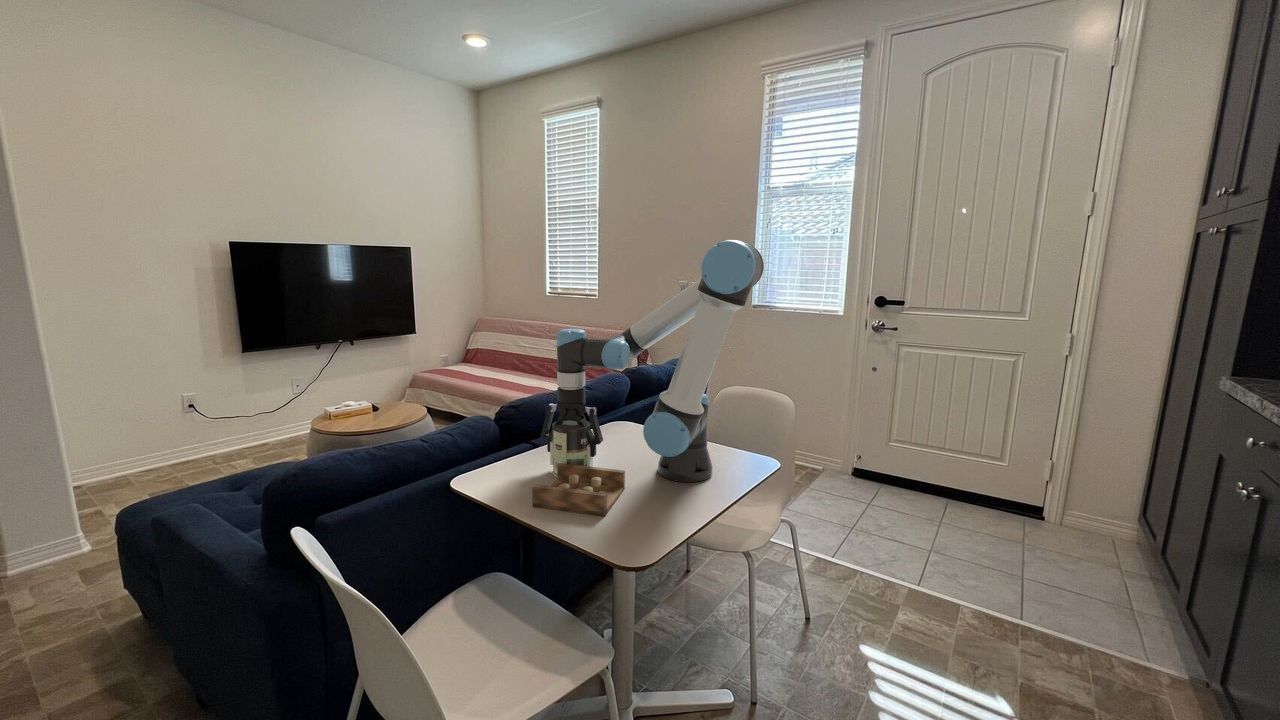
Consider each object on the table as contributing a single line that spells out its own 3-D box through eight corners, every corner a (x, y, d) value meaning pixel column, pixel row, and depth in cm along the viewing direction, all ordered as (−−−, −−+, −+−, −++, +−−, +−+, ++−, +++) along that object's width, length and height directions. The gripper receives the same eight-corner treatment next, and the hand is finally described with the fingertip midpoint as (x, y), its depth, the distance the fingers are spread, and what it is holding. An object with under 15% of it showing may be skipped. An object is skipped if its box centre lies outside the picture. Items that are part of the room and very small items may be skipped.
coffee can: (594, 468, 147) (594, 420, 145) (583, 482, 137) (583, 430, 135) (560, 464, 149) (559, 417, 147) (547, 478, 139) (546, 427, 137)
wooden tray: (624, 489, 133) (624, 470, 133) (604, 516, 118) (605, 496, 117) (559, 480, 138) (559, 462, 137) (532, 506, 123) (532, 486, 122)
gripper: (615, 386, 140) (614, 464, 144) (538, 380, 146) (539, 456, 149) (606, 392, 133) (606, 474, 137) (526, 386, 138) (528, 465, 142)
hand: (571, 465), depth 143 cm, fingers closed on coffee can, 10 cm apart
